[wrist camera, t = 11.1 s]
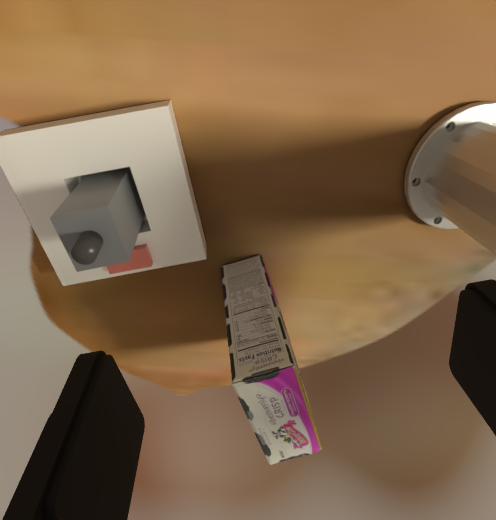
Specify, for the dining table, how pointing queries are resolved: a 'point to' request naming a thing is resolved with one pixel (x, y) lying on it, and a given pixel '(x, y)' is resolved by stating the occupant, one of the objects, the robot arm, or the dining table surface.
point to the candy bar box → (265, 364)
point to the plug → (100, 220)
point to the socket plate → (102, 160)
